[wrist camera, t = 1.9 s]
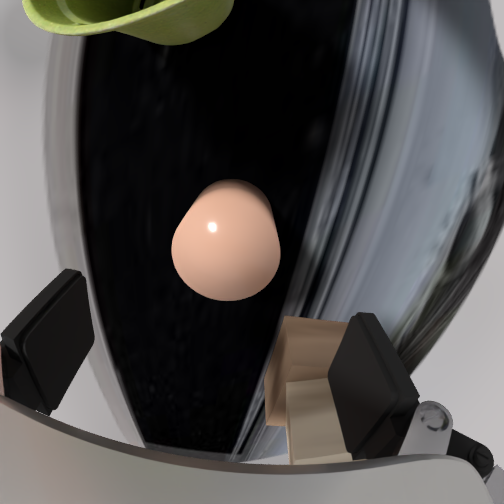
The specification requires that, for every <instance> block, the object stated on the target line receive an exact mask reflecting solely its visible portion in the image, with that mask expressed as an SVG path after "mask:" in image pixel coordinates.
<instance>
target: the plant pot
mask: <svg viewBox="0 0 504 504" xmlns="http://www.w3.org/2000/svg"><path fill="white" fill-rule="evenodd" d="M22 2H23V7H24V10H25V12H26V14H27V16H28V17H29V19H30V20H31V21H32V22H33V24H35V25H36V26H37V27H39V28H41V29H43V30H45V31H48V32H51V33H55V34H60V35H68V36H83V35H93V34H99V33H104V32H109V31H113V30H115V31H118V32H122V33H126V34H129V35H132V36H136V37H139V38H142V39H145V40H148V41H150V42H153V43H157V44H161V45H180V44H185V43H189V42H192V41H194V40H196V39H198V38H201V37H203V36H204V35H206V34H208V33H210V32H212V31H213V30H215V29H217V28H218V27H219V26H220V25H221V24H222V23H223V22H224V21H225V19H226V18H227V17H228V15H229V14H230V12H231V9H232V7H233V3H234V0H145V4H144V7H143V9H142V10H141V9H140V8H139V5H140V2H141V0H22Z"/></svg>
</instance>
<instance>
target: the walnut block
mask: <svg viewBox="0 0 504 504" xmlns="http://www.w3.org/2000/svg"><path fill="white" fill-rule="evenodd" d="M348 324H349V323H347V322H337V321H327V320H318V319H309V318H301V317H292V316H284V319H283V323H282V326H281V329H280V332H279V335H278V338H277V342H276V345H275V348H274V351H273V354H272V357H271V360H270V363H269V366H268V369H267V372H266V375H265V378H264V386H265V409H266V425H272V426H286V382H296V381H306V380H314V379H322V378H328V370H329V368H330V366H331V363H332V361H333V359H334V357H335V354H336V352H337V350H338V348H339V345H340V343H341V341H342V338H343V336H344V333H345V331H346V329H347V326H348Z"/></svg>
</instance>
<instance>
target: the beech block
mask: <svg viewBox="0 0 504 504" xmlns="http://www.w3.org/2000/svg"><path fill="white" fill-rule="evenodd" d="M286 434H287V445H288V455H289V465H306V464H326V463H339V462H351V461H353V460H352V456H351V453H348V452H347V450H346V447H345V443H344V439H343V435H342V431H341V427H340V423H339V419H338V415H337V412H336V408H335V404H334V400H333V396H332V393H331V389H330V385H329V382H328V378H322V379H314V380H306V381H296V382H286ZM362 460H367V459H362ZM354 461H361V460H354Z"/></svg>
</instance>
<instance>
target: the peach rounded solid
mask: <svg viewBox="0 0 504 504" xmlns="http://www.w3.org/2000/svg"><path fill="white" fill-rule="evenodd" d="M172 257H173V262H174V265H175V267H176V270H177V272H178V273H179V275H180V277H181V278H182V279H183V280H184V282H185V283H186V284H187V285H188V286H189V287H191V288H192V289H193V290H194V291H196V292H198V293H199V294H201V295H204V296H206V297H209V298H212V299H216V300H223V301H233V300H240V299H244V298H247V297H250V296H252V295H254V294H256V293H258V292H259V291H261V290H262V289H263V288H264V287H265V286H267V285H268V283H269V282H270V281H271V280H272V278H273V277H274V275H275V273H276V271H277V269H278V266H279V262H280V244H279V240H278V235H277V231H276V226H275V222H274V217H273V213H272V209H271V205H270V203H269V201H268V199H267V197H266V196H265V195H264V193H263V192H262V191H261V190H260V189H259V188H257V187H256V186H254V185H253V184H251V183H249V182H246V181H243V180H239V179H225V180H221V181H218V182H215V183H213V184H211V185H210V186H208V187H207V188H205V189H204V190H203V191H202V192H201V194H200V195H199V196H198V198H197V199H196V201H195V202H194V203H193V205H192V206H191V208H190V209H189V211H188V212H187V214H186V215H185V217H184V218H183V220H182V221H181V223H180V225H179V226H178V228H177V230H176V232H175V234H174V238H173V242H172Z"/></svg>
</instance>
